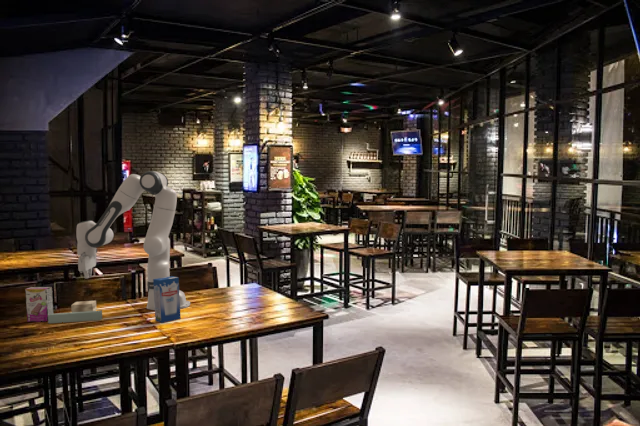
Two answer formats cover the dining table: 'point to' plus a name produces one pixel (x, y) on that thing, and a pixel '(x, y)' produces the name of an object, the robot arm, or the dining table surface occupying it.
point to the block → (83, 306)
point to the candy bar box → (39, 303)
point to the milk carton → (166, 299)
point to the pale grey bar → (75, 316)
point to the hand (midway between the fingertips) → (88, 277)
